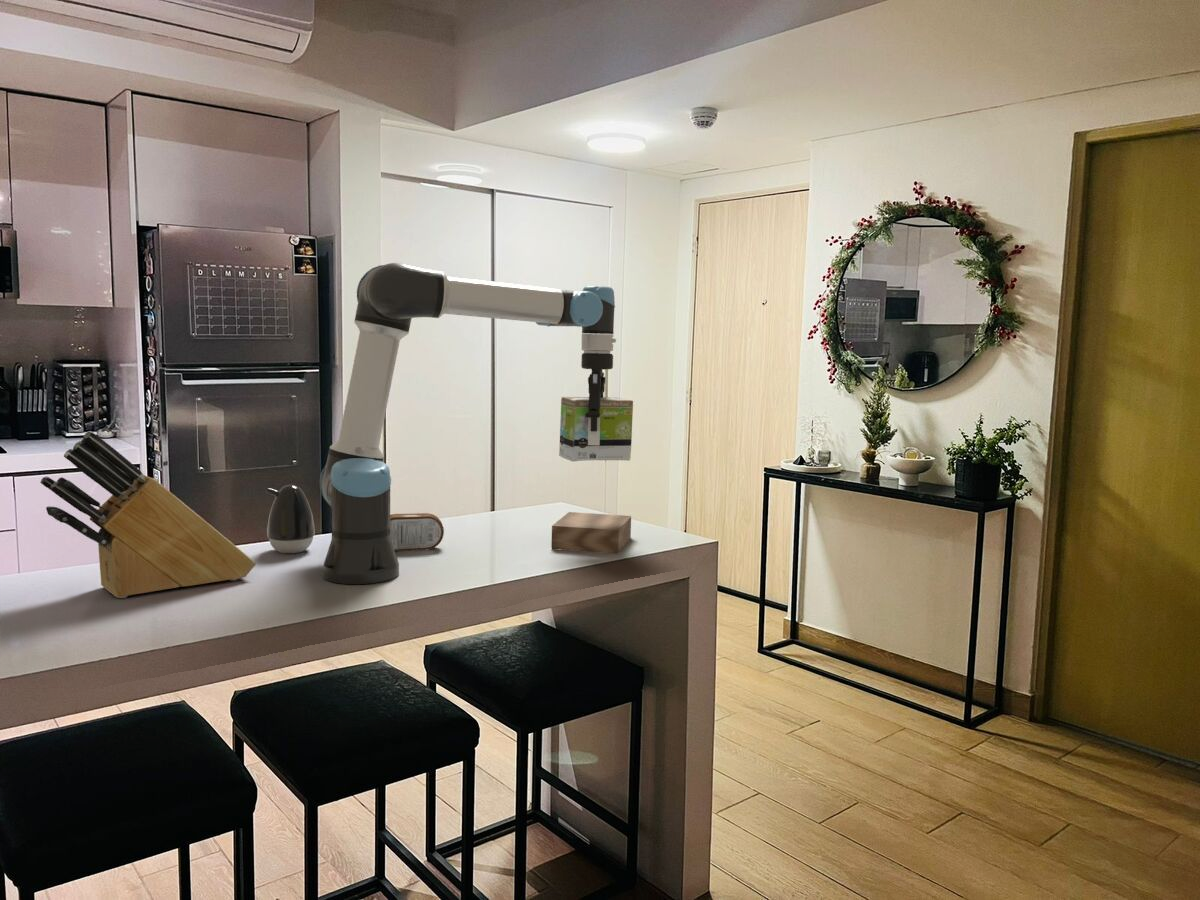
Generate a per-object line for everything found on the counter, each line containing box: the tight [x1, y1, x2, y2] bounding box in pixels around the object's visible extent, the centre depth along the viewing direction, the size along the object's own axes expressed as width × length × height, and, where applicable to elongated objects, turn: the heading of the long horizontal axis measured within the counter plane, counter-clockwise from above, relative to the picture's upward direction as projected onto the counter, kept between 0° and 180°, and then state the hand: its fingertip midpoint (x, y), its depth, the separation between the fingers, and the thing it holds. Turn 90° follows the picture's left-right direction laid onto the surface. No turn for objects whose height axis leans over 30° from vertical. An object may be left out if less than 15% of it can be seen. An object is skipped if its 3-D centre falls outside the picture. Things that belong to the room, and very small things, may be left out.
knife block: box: [40, 430, 256, 599], centre depth 177 cm, size 11×35×31 cm, turn 131°
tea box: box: [558, 396, 634, 462], centre depth 223 cm, size 15×10×15 cm
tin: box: [390, 512, 445, 552], centre depth 214 cm, size 15×3×8 cm, turn 108°
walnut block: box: [550, 511, 632, 555], centre depth 226 cm, size 16×18×6 cm
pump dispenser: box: [265, 484, 316, 554], centre depth 209 cm, size 10×10×15 cm
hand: (595, 442), depth 223 cm, fingers closed on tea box, 12 cm apart
